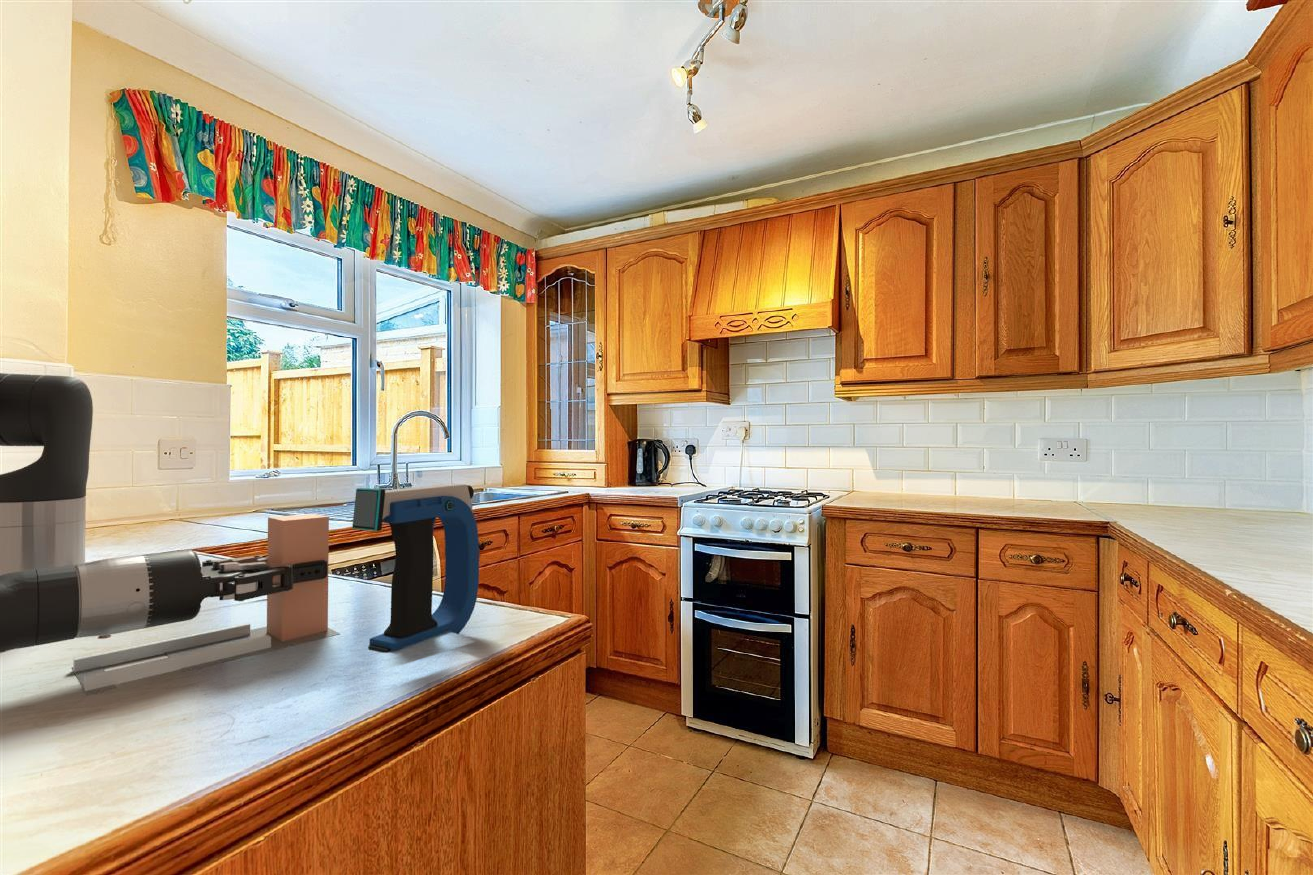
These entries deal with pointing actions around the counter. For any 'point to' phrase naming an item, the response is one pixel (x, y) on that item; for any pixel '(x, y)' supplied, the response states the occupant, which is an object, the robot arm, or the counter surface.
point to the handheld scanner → (424, 558)
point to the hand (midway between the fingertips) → (316, 565)
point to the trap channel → (180, 654)
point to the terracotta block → (307, 600)
